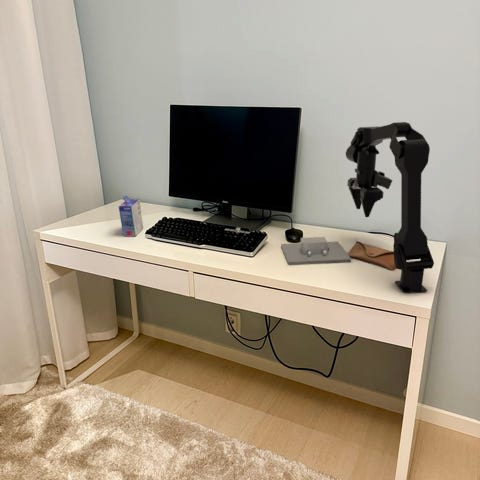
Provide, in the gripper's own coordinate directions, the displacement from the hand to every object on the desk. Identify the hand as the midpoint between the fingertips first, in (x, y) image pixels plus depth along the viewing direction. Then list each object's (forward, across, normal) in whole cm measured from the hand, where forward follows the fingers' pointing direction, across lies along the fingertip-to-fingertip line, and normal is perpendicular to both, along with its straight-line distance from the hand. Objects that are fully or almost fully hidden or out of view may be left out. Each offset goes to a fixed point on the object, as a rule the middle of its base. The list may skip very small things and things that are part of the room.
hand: (362, 212), depth 147 cm
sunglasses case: (+13, -12, -1) cm, 17 cm away
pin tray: (+12, -5, +17) cm, 21 cm away
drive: (+11, -5, +17) cm, 21 cm away
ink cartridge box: (+12, +25, +82) cm, 87 cm away
